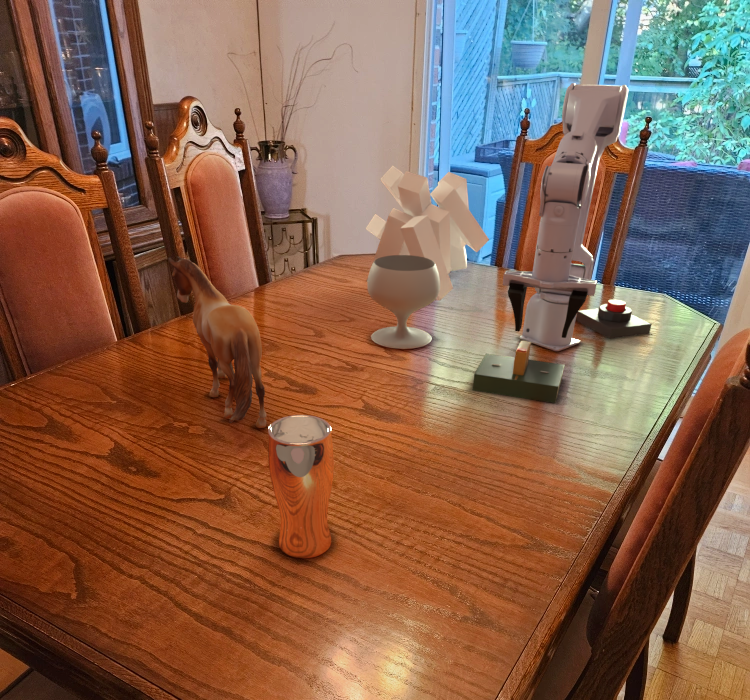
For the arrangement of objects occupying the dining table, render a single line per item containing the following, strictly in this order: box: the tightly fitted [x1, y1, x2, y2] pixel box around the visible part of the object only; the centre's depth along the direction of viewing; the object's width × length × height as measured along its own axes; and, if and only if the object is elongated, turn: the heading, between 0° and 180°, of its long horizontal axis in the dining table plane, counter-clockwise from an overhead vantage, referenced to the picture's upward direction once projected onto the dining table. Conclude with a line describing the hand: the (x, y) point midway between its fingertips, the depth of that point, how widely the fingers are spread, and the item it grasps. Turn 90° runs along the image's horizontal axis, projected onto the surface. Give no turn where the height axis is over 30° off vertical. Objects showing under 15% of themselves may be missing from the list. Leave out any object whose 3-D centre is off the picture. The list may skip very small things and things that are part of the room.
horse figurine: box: [167, 256, 267, 429], centre depth 101 cm, size 31×8×21 cm, turn 26°
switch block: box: [575, 303, 652, 340], centre depth 141 cm, size 12×10×4 cm
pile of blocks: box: [365, 165, 490, 301], centre depth 159 cm, size 35×30×35 cm
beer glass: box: [267, 414, 335, 559], centre depth 74 cm, size 7×7×15 cm
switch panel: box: [472, 353, 565, 404], centre depth 115 cm, size 14×10×3 cm
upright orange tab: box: [513, 340, 532, 375], centre depth 113 cm, size 6×2×4 cm, turn 161°
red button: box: [606, 299, 627, 312], centre depth 139 cm, size 4×4×2 cm
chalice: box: [366, 255, 440, 350], centre depth 129 cm, size 14×14×15 cm
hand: (541, 332), depth 111 cm, fingers open, 7 cm apart
